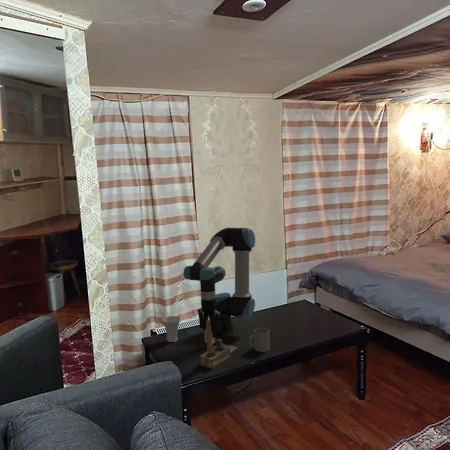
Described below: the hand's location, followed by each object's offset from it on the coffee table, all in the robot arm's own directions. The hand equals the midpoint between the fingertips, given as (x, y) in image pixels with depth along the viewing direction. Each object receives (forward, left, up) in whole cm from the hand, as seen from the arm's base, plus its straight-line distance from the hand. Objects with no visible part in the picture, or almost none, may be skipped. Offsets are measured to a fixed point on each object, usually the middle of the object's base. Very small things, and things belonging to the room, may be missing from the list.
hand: (210, 342), depth 213 cm
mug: (+14, +27, -12) cm, 33 cm away
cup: (-37, +13, -12) cm, 41 cm away
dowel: (0, 0, -4) cm, 4 cm away
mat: (-3, +18, -12) cm, 22 cm away
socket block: (0, +4, -12) cm, 13 cm away
